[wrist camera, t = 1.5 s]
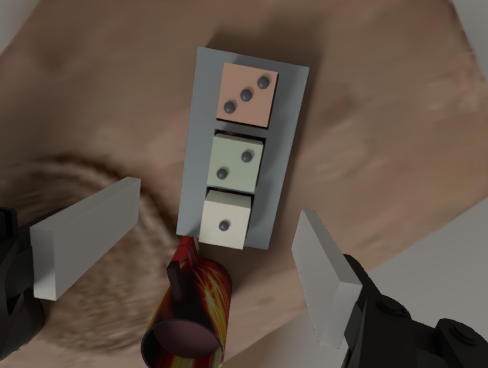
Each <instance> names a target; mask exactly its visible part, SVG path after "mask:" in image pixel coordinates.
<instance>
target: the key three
mask: <svg viewBox="0 0 488 368" xmlns="http://www.w3.org/2000/svg"><path fill="white" fill-rule="evenodd" d="M277 74H278V72H274V71H268V70H263V69H258V68H252V67H247V66H242V65H236V64H231V63H226V62H224V67H223V74H222V81H221V88H220V95H219V102H218V109H217V116H216V118H220V119H225V120H231V121H236V122H242V123H247V124H253V125H258V126H263V127H267V124H268V119H269V114H270V109H271V104H272V99H273V94H274V89H275V84H276V79H277Z"/></svg>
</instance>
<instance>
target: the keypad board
mask: <svg viewBox="0 0 488 368" xmlns="http://www.w3.org/2000/svg"><path fill="white" fill-rule="evenodd" d="M224 62H226V63H231V64H236V65H242V66H247V67H252V68H258V69H263V70H268V71H274V72H278V74H277V82H276V87H275V92H274V97H273V102H272V107H271V112H270V117H269V122H268V127H267V129H265V128H260V127H254V126H249V125H244V124H238V123H233V122H227V121H222V120H219V118H216V116H217V109H218V102H219V95H220V88H221V81H222V74H223V67H224ZM309 68H310V67H305V66H300V65H295V64H289V63H284V62H279V61H273V60H268V59H263V58H258V57H252V56H247V55H242V54H236V53H231V52H226V51H221V50H215V49H210V48H205V47H199V46H198V49H197V57H196V66H195V75H194V84H193V93H192V101H191V110H190V119H189V128H188V137H187V145H186V154H185V163H184V172H183V181H182V189H181V198H180V207H179V216H178V225H177V233H176V234H179V235H184V236H190V237H196V238H199V235H200V228H201V221H202V214H203V207H204V200H205V198H206V197H207V195H208V190H209V186H210V187H215V188H221V189H226V190H232V191H238V192H243V193H249V194H254V197H253V202H252V207H251V212H250V217H249V222H248V227H247V230H246V235H245V240H244V245H243V246H247V247H253V248H259V249H264V250H268V246H269V242H270V238H271V233H272V229H273V225H274V220H275V216H276V212H277V207H278V203H279V199H280V194H281V190H282V186H283V181H284V177H285V173H286V168H287V164H288V160H289V155H290V151H291V146H292V142H293V138H294V133H295V129H296V125H297V120H298V116H299V112H300V107H301V103H302V99H303V94H304V90H305V86H306V81H307V77H308V73H309ZM217 129H219V130H225V131H230V132H235V133H241V134H246V135H252V136H257V137H263V138H265V142H264V147H263V152H262V157H261V162H260V167H259V172H258V177H257V182H256V184H255V189H254V193H253V192H247V191H242V190H236V189H230V188H225V187H219V186H214V185H208V184H207V179H208V172H209V165H210V158H211V151H212V144H213V137H214V136H215V135H217Z"/></svg>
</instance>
